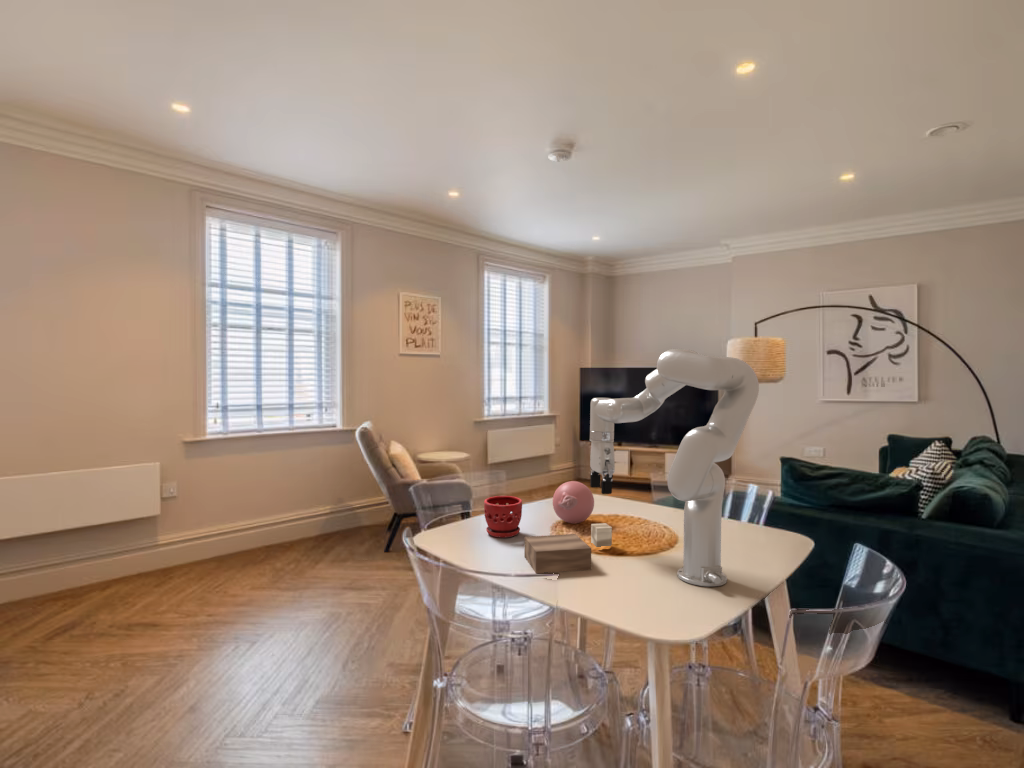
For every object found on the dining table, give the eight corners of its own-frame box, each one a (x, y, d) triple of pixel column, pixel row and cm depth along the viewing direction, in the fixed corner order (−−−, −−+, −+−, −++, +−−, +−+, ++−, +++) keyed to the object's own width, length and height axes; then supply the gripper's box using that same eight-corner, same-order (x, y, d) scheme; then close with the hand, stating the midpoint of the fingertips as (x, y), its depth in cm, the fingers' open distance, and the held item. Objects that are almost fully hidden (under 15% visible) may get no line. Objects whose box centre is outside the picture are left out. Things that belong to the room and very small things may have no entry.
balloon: (540, 527, 192) (540, 485, 192) (561, 515, 209) (562, 476, 209) (580, 534, 185) (581, 489, 184) (599, 520, 202) (599, 480, 202)
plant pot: (478, 531, 187) (478, 497, 187) (512, 527, 192) (512, 494, 192) (492, 542, 175) (492, 505, 175) (528, 537, 180) (528, 501, 180)
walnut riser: (591, 569, 150) (591, 548, 150) (535, 573, 147) (536, 551, 147) (575, 553, 164) (575, 533, 164) (524, 556, 161) (524, 536, 160)
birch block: (611, 549, 168) (611, 527, 168) (596, 550, 167) (596, 528, 167) (605, 544, 173) (605, 523, 173) (591, 545, 172) (591, 524, 172)
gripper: (624, 440, 162) (622, 496, 162) (602, 433, 179) (601, 484, 179) (600, 440, 160) (599, 497, 161) (581, 433, 177) (580, 485, 178)
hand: (600, 490), depth 170 cm, fingers open, 9 cm apart
